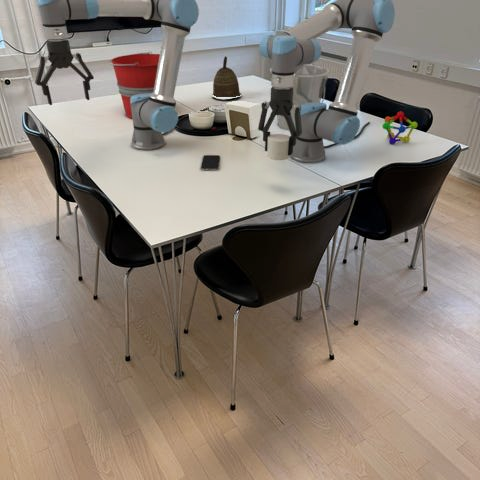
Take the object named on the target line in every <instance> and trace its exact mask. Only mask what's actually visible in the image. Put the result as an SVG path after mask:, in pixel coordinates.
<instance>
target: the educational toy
mask: <svg viewBox="0 0 480 480" xmlns="http://www.w3.org/2000/svg"><path fill="white" fill-rule="evenodd" d="M397 119H399V124H400V125H399V127H398V126H393V125H391V124H392V123H394V122H395V121H396V120H397ZM403 120H404V121H405V122H407V123H408V124H409V125H407V126H404V123H403ZM417 127H418V122H417V121H411V120H410V119H409V118H408V117H406V116H405V113H404V112H403V111H401V110H400V111H398V112H397V114H396V115H394V116H391V117H390V116H386V117H385V118H384V122H383V123H382V129H383V130H386V132H387V138H388V142H389V145H395V144H396V143H397V142H402V141H403V142H404V143H409V142H410V140H411V138H410V136H411V134H412V132H413V131H414V130H415V129H417ZM392 129H393V130H397V131H398V132H396V134H395V133H394V132H392ZM408 129H409V131H408V133H407V134H406V135H404V136H401V134H403V133H405V132H406V130H408ZM399 135H400V136H399Z"/></svg>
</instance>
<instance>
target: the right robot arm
mask: <svg viewBox="0 0 480 480" xmlns="http://www.w3.org/2000/svg"><path fill="white" fill-rule="evenodd" d="M395 9H396V8H395V5H394V2H393V0H334V1H332V2H330V3H328V4H327V5H325V6H324V7H323V8H322V10H321V11H320V12H318V13H317V12H316V13H315V14H313V15H311V16H310V17H308V18H306V19H304V20H302V21H300V22H298V23H297V24H294V25H293V26H291V27H289V28H287V29H285V30H284V31H281V32H280V33H278V34H275V35H273V34H266V35H264V36H263V37H262V38H261V40H260V42H259V53H260V54H261V56H262V57H264V58H267V59H269V60H271V68H272V77H271V76H270V86H271V88H270V100H269V101H266V100H265V101H263V102H262V103H261V112H260V118H259V122H258V127H257V130H258V131H260V132H262V141H263V142H264V152H267V146H268V136H269V135H271V131H270V129H271V126H272V124H273V122H274V120H275V118H276V117H277V115H281V116H284V118H285V119H286V122H287V125H288V127H289V130H288V131H289V133H290V135H289V136H290V137H289V149H288V155H290V157H289V158H291V159H292V160H293V161H295V162H299V163H303V164H316V163H321V162H323V161H325V159H326V151H325V149H329V148H331V147H334V146H337V145H347V144H350V142H352V141H353V140H355V139H357V138H359V136H360V135H361V134H362V132H363V131H364V129H365V128H366V127H367V126H368V125H370V124H371V122H370V121H367V122H366V123H365V124H364V125H362V127H361V129H360V126H361V124H360V123H361V120H360V118H359V117H358V114H359V111H358V109H357V105H358V104H357V103H358V100H359V97H360V95H361V91H362V88H363V85H364V81H365V78H366V75H367V72H368V69H369V66H370V62H371V59H372V57H373V53H374V50H375V47H376V45H377V43H378V42H379V41H381V40H382V39H383V36H384V34H386V33H388V32H390V30H391V29H392V27H393V26H394V22H395V16H396V11H395ZM340 29H349V30H350V29H351V31H350V33H351V35H352V38H353V39H352V42H351V44H350V48H349V51H348V55H347V58H346V62H345V64H344V69H343V72H342V75H341V77H340V82H339V85H338V89H337V91H336V94H335V98H334V100H333V102H332V103H330V104H328V107H327V104H326V103H325V102H323V103H322V102H320V103H306V104H302V105H300V106H295V105H294V104H293V88H292V87H293V86H294V74H295V66H299V65H311V64H314V63H316V62H318V60H320V58H321V54H322V45H321V44H320V42H319V41H318V40H317V38H319V37H321V36H323V35H324V34H326V33H329V32H336V31H338V30H340ZM272 86H273V87H272ZM269 108H270V109H271V112H270V114H269V117H268V119H267V115H268V110H269ZM291 109H293V110H294V112H295V125H296V129H295V126H294V123H293V120H292V117H291V113H290V111H291ZM266 119H267V121H266ZM359 130H360V131H359ZM324 140H325V141H328V142H332V143H331V144H328V145H324Z"/></svg>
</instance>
